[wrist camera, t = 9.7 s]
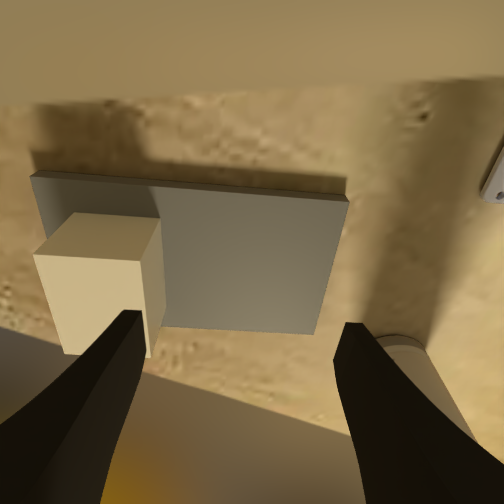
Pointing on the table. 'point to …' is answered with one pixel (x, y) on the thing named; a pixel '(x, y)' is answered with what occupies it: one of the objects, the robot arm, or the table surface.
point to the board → (219, 245)
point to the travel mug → (423, 375)
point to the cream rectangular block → (102, 276)
